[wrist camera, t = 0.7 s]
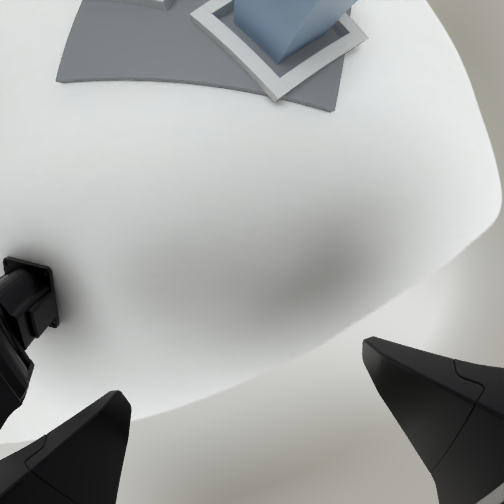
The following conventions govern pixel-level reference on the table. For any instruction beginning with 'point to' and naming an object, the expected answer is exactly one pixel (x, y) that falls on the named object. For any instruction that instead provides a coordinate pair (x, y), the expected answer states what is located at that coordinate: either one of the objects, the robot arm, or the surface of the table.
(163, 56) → the panel
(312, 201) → the table surface
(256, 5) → the plug
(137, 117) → the table surface
